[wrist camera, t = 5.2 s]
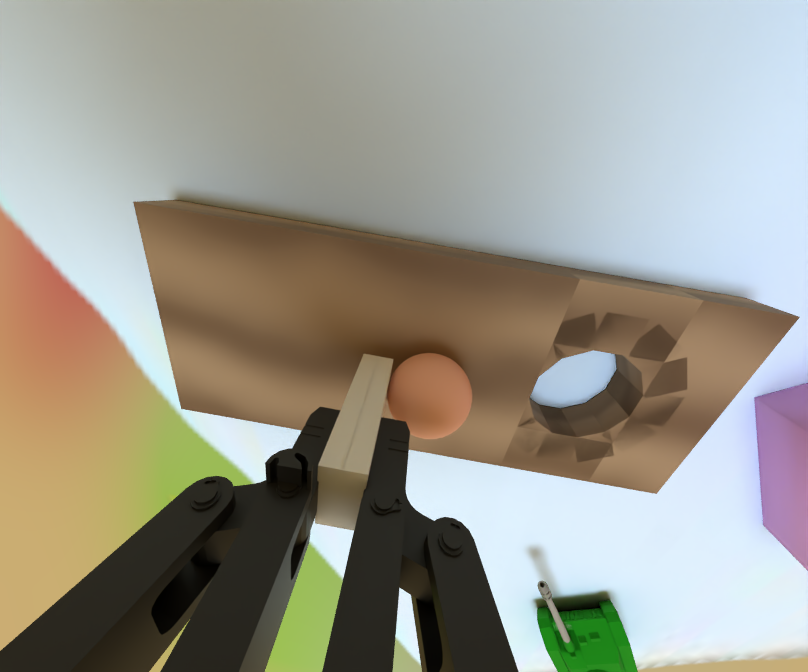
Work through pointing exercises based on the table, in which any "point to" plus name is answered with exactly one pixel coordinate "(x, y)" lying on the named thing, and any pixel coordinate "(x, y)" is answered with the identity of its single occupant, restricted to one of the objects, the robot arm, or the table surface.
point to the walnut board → (446, 338)
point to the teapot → (784, 466)
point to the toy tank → (584, 637)
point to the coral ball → (430, 395)
